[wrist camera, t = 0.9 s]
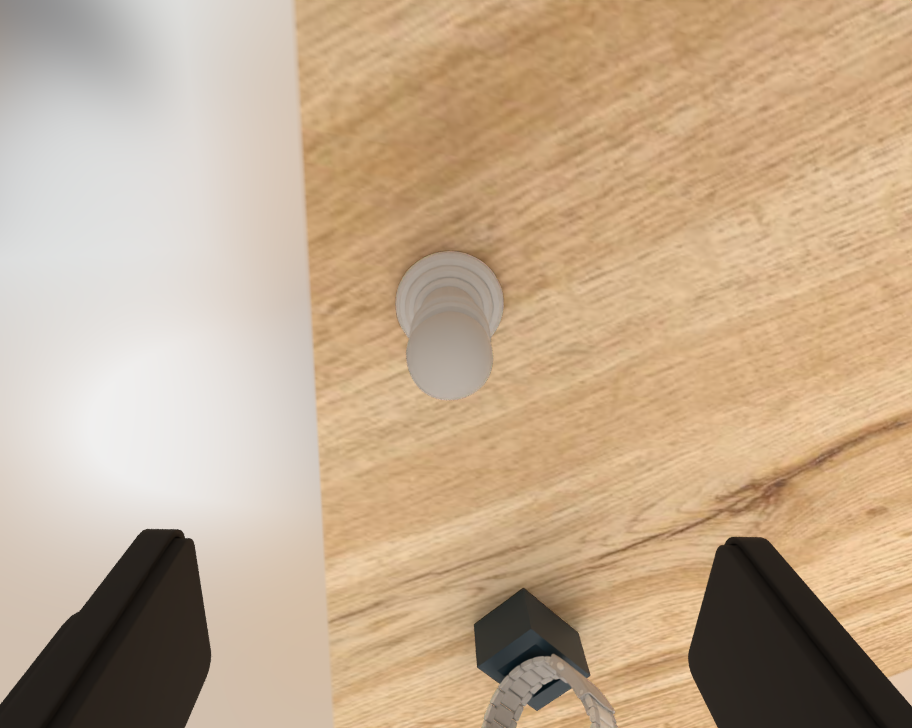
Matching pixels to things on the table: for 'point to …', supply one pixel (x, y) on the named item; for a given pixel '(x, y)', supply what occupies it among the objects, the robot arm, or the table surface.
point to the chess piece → (449, 322)
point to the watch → (534, 662)
